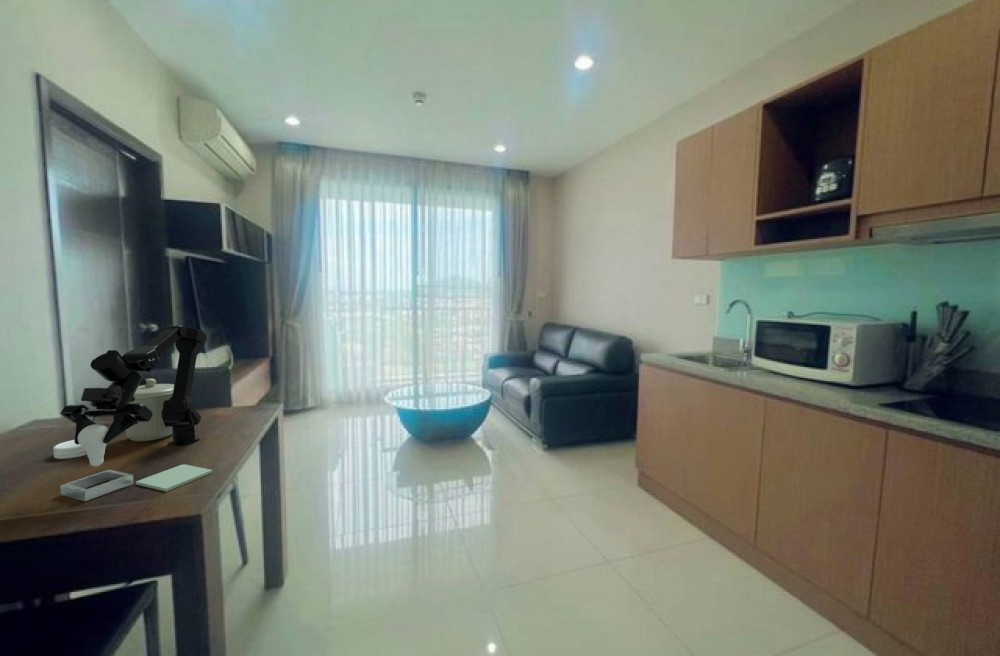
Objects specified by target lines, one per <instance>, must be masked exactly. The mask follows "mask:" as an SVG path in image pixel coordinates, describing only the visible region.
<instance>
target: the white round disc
mask: <svg viewBox="0 0 1000 656" xmlns="http://www.w3.org/2000/svg"><path fill="white" fill-rule="evenodd" d="M74 441H75V439H72V440H67V441H64V442H61V443H58V444H56V445H55V446H53V448H52V449H53V452H52V453H53V457H54V458H55V459H58V460H62V459H63V460H64V459H65V460H66V459H73V458H74V459H75V458H79V457H82V456H83V457H84V456H87V452H86V450H85V449H84V448H83V447H82V446H81V445H80V444H75V443H74Z"/></svg>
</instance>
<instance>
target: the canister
mask: <svg viewBox="0 0 1000 656" xmlns="http://www.w3.org/2000/svg"><path fill="white" fill-rule="evenodd" d="M145 380H146V382H147V384H146V385H139V386H138V388H137V390H136V392H135V394H134V395H133V397H134V398H136V399H135V401H134V402H129V404H133V403H143V404H144V405H145V406H146V407H147V408H148V409H150V410H151V411H152V417H151V419H150V421H149V422H138V421H137V422H138V424H136V425H133V426H131V427H130V428H128V429H127V430H125V431H124V432H125V434H126V436H127V438H128V439H129V440H130V441H132V442H149V441H156V440H159V439H160V440H161V439H163V438H164V439H165V438H167V437H169V436H171V435H172V426H171V427H165V425H164V422H163V419H162V413H161V412H162V409H163V403H164V401H165V400H169V399H170V398H171V397H172V395H173V389H174V384H173V383H157V380H156V379H154V378H145Z"/></svg>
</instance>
